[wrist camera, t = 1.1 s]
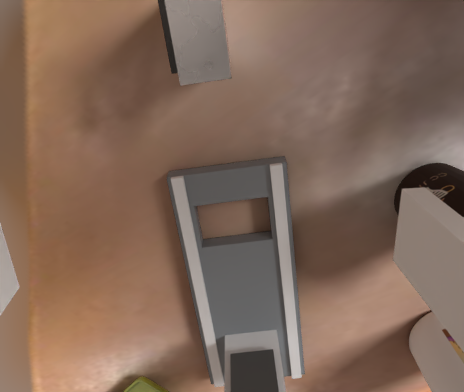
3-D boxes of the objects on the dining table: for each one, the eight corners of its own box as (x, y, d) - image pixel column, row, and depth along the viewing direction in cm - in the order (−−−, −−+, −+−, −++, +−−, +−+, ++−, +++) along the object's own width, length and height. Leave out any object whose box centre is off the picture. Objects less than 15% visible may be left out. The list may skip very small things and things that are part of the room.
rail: (284, 156, 36) (305, 211, 26) (302, 363, 45) (322, 458, 36) (168, 171, 36) (147, 231, 26) (211, 373, 46) (207, 469, 36)
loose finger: (230, 59, 32) (231, 78, 24) (185, 66, 32) (171, 86, 24) (220, -15, 30) (218, -23, 22) (172, -8, 30) (152, -13, 22)
